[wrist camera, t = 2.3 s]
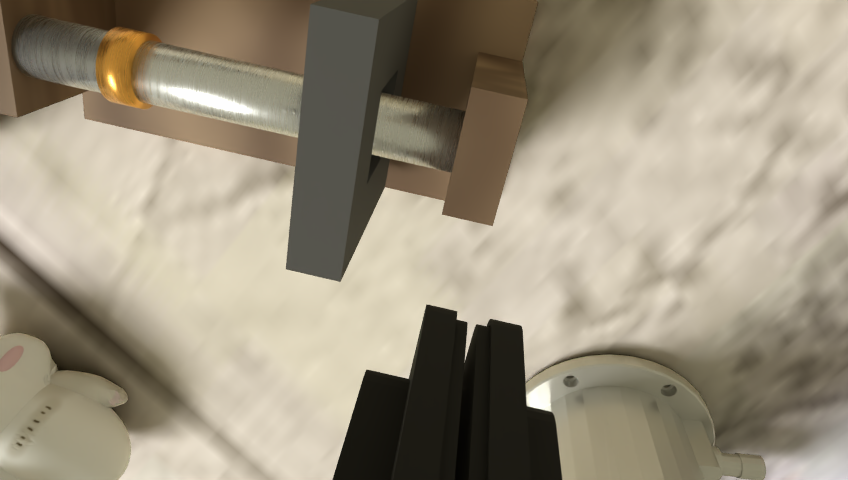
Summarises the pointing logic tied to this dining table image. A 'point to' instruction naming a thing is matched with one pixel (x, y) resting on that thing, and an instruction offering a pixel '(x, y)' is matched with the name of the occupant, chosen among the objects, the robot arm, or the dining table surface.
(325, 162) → the collar
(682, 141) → the dining table surface
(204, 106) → the pipe
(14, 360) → the cat figurine
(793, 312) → the dining table surface
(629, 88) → the dining table surface
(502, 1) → the stand
